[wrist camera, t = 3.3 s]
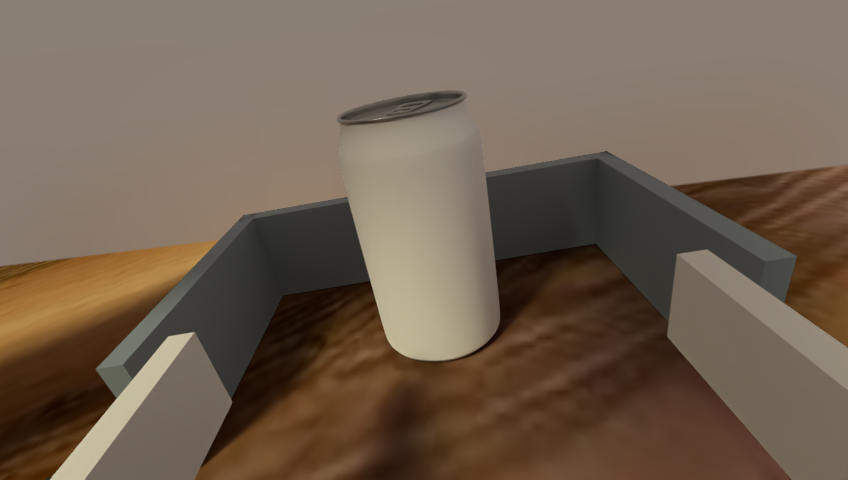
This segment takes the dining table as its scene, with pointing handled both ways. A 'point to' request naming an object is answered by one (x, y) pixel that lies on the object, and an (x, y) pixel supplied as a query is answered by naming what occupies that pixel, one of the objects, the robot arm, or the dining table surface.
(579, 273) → the dining table surface
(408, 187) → the can
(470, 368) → the dining table surface
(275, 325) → the dining table surface
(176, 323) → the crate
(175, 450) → the robot arm
